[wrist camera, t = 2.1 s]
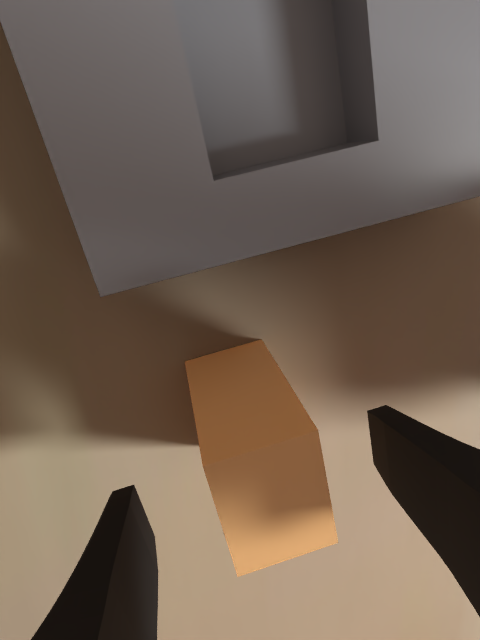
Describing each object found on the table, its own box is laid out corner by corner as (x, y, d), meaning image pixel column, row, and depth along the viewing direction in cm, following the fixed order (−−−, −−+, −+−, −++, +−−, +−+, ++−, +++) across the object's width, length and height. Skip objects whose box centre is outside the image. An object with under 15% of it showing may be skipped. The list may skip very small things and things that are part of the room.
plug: (261, 339, 16) (317, 430, 11) (280, 424, 18) (338, 542, 12) (184, 361, 16) (202, 466, 11) (210, 446, 18) (237, 576, 12)
